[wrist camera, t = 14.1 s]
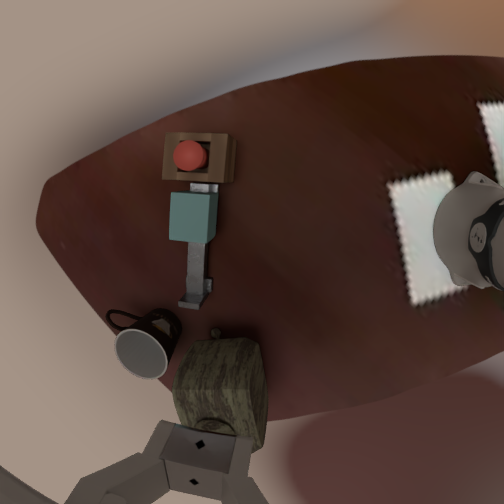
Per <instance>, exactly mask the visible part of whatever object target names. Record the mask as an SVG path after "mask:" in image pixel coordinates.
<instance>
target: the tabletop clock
mask: <svg viewBox="0 0 504 504" xmlns="http://www.w3.org/2000/svg"><path fill="white" fill-rule="evenodd" d="M220 334H221V332H220V330H219V329H217V328H214V329H212V331H211V335H212V337H214V338H216V339H214V340H198V341H195V342H194V343H193V344H192V345H191V346H190V348H189V349H188V351H187V352H186V354H185V355H184V357H183V359H182V361H181V363H180V365H179V368H178V370H177V372H176V375H175V378H174V382H173V386H172V394H173V400H174V404H175V408H176V411H177V414H178V416H179V419H180V422H181V425H184V426H188V427H192V428H196V429H201V430H205V431H206V430H208V431H213V432H219V433H226V434H232V435H238V436H245V437H252V438H253V444H252V451H251V454H252V453H254V452H255V451H257V450H259V449H261V448H262V447H263V444H264V440H265V433H266V425H267V414H268V391H267V385H266V379H265V373H264V367H263V362H262V357H261V352H260V347H259V344H258V343H257V342H255V341H253V340H251V339H248V338H246V337H241V338H229V339H220V338H219V336H220Z"/></svg>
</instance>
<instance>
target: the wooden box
mask: <svg viewBox="0 0 504 504" xmlns="http://www.w3.org/2000/svg"><path fill="white" fill-rule="evenodd" d="M186 140H192V141H195V142H197V143H199V144H200V145H201V146H202V147H204V148H207V149H208V150H209V151H210V156H209V166H208V167H207V168H205V169H195V170H192V171H185V170H182V169H180V168H178V167H177V166H176V164H175V162H174V159H173V153H174V150H175V148H176V146H177V145H178V144H179V143H181V142H183V141H186ZM236 146H237V140H235V139H234V138H233V137H231V136H230V135H229V134H218V133H166V135H165V146H164V158H163V171H162V179H168V180H188V181H204V182H219V183H229V182H233V180H234V168H235V157H236Z"/></svg>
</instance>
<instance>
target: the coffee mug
mask: <svg viewBox="0 0 504 504" xmlns="http://www.w3.org/2000/svg"><path fill="white" fill-rule="evenodd" d="M111 313H117V314H122V315H125V316H128V317H130V318H133V319H136V320H138V321H137V322H135V323H134V324H132V325H131V326H129V327H120V326H118V325H116V324H114V323H113V322H112V320H111V319H110V314H111ZM106 320H107V321H108V323H109V324H110V325H111V326H112V327H113V328H115V329H117V330H119V331H122V332H120V333H119V334H118V335H117V337H116V339H115V344H114V346H115V353H116V356H117V358H118V360H119V361H120V363H121V364H122V365H123V367H124V368H125V369H126V370H128V371H129V372H130V373H132V374H133V375H135V376H137V377H140V378H143V379H156V378H159V377H161V376H162V375H163V374H164V373H165V371H166V369H167V367H168V364H169V362H170V359H171V357H172V354H173V352H174V349H175V347H176V344H177V342H178V339H179V337H180V334H181V330H182V327H181V323H180V321H179V319H178V318H177V316H176V315H175V314H174V313H172V312H171V311H169V310H167V309H162V308H159V309H155V310H153V311H151V312H150V313H149V314H147V315H146V316H144V317H138V316H135V315H132V314H130V313H127V312H124V311H120V310H109V311H108V312H107V314H106Z"/></svg>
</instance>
